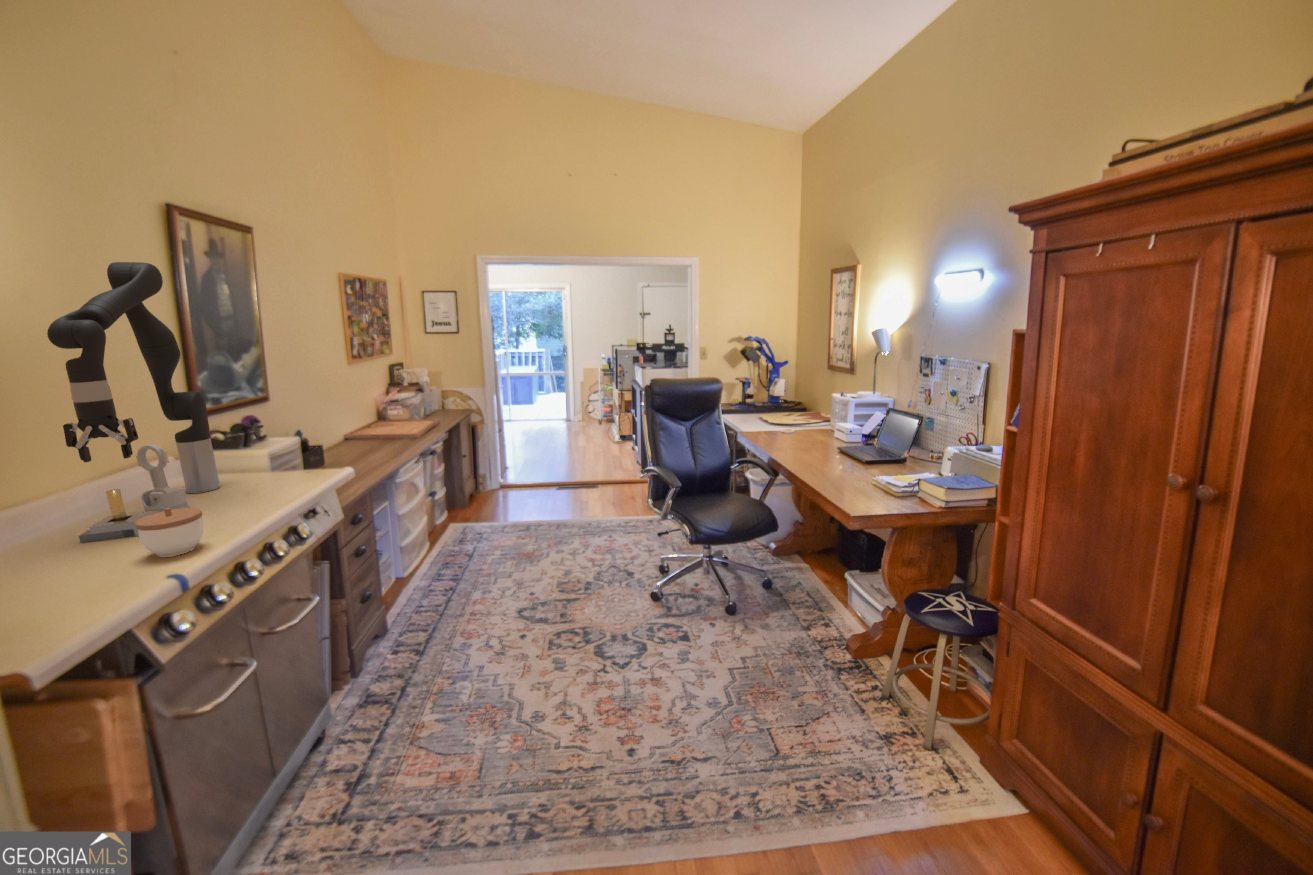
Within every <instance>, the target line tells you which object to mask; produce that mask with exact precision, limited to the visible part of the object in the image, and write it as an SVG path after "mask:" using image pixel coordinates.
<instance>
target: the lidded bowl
mask: <svg viewBox="0 0 1313 875" xmlns="http://www.w3.org/2000/svg"><path fill="white" fill-rule="evenodd" d="M203 518H204V517H203V511H202V509H200V508H196V507H188V508H182V509H174V510H171V508H166V509H164V511H163V512H159V513H155V514H152V515H149V516H146V517H143V518H141V519H139V520H137V521H136V522H135V526H136V529H137V532H138V535H139V536H138V538H139V540H140V543H141V544H142V545H143V547H144V548H145V549H146V550H147V551H148V552H150V553H151V554H154V555H157V556H158V558H172V557H177V555H178V556H181V555H180V554H182V555H184V553H185V554H187V552H188V553H190V552H192V551H193V549H194V548H195V549H196V546H197V545H198V544H199V543H200V542H201V539H202V537H203V534H204V520H203ZM195 549H194V550H195ZM189 551H190V552H189Z"/></svg>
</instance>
